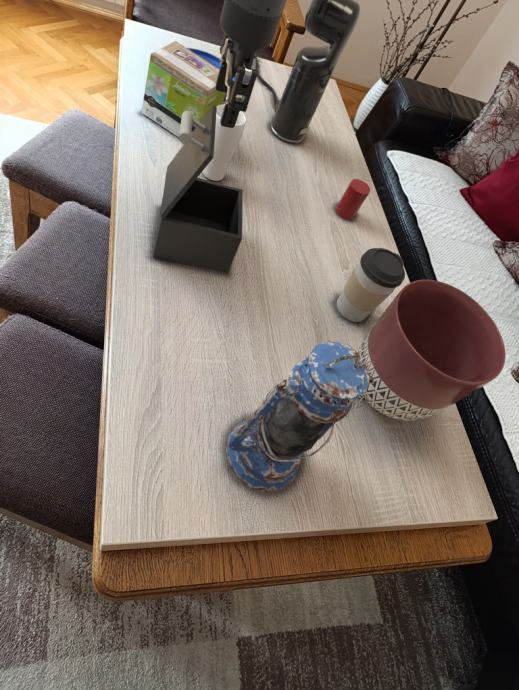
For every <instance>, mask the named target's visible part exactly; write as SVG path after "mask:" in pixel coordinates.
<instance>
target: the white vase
mask: <svg viewBox="0 0 519 690" xmlns="http://www.w3.org/2000/svg"><path fill="white" fill-rule="evenodd" d="M224 106H225V104H222V105H219V106H217V113H216V128H215V143H214V158H213V159H212V160H211V161H210V163H209V164H208V165H207V166H206V168H205V169H204V170H203V171H202V172H201V174H203V176H204V177H205V178H207V180H209V181H212V182H219V181H222V180H223V179H224V178H225V176H226V173H227V170H228V168H229V166H230V164H231V161H232V159H233V157H234V155H235V152H236V150H237V148H238V146H239V143H240V141H241V139H242V136H243V133H244V130H245V126H246V122H247V118H246V115H245V114H244V112H242V111H240V112H239V115H238V118H237V121H236V124H235V127H234V128H228V127H223V126H221V123H220V120H221V116H222V113H223V109H224Z"/></svg>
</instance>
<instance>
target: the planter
mask: <svg viewBox="0 0 519 690" xmlns="http://www.w3.org/2000/svg"><path fill="white" fill-rule="evenodd" d="M357 353H358V354H359V355H360V357H361V358H362V359H363V360H364V362H365V364H366V366H367V369H368V372H369V376H372V377H373V379H374V384H370V383H369V385H368V386H367V388H366V390H365V392H364V393H363V394H362V395H361V396H362V397H363V399H364V400H365V401H366V402H367V404H368V405H370V407H371V408H372V409H374V410H375V411H377V412H378V413H380V414H382V415H383V416H385V417H388V418H390V419H393V420H398V421H404V422H405V421H406V422H409V421H419V420H423V419H426V418H429V417H432V416H434V415H437V414H438V413H441V412H442V411H444V410H446V409H447V408H449V407H451V406H452V405H454V404H456V403H457V402H459V401H460V400H462V399H464V398H465V397H467V396H469V395H471V394H472V393H474V392H476V391H478V390H479V389H481V388H483V387H484V386H486V385H488V384H489V383H490V382H492V381H493V380H495V379H497V377H498V376H499V375H500V374H501V373H502V371H503V369H504V367H505V363H506V346H505V342H504V339H503V336H502V334H501V332H500V329H499V328H498V326H497V324H496V322H495V321H494V320H493V318H492V317H491V316H490V315H489V313H488V312H487V311H486V309H484V307H483V306H482V305H481V304H479V303H478V302H477V301H476V299H474V298H472V296H470V295H469V294H467V292H464V291H462V290H461V289H459V288H458V287H455V286H453V285H451V284H449V283H446V282H443V281H439V280H434V279H419V280H414V281H411V282H409V283H407V284H406V285H404V286H403V287H402V288H401V289H400V291H399V292H398V293H397V295H396V296H394V298H393V299H392V300H391V302H390V304H388V306H387V308H386V309H385V311H384V312H383V313H382V314H381V316H380V317H379V318H378V319H377V320H376V322H375V323H374V324H373V326H372V327H371V329H370V330H369V332H368V333H367V334H366V336H365V337H364V338H363V340H362V342H361V343H360V346H359V348H358V351H357Z"/></svg>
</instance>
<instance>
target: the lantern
mask: <svg viewBox="0 0 519 690" xmlns="http://www.w3.org/2000/svg"><path fill="white" fill-rule="evenodd" d="M369 383H370V384H374V379H373V377H372V376H369V372H368V369H367V366H366V364H365V362H364V360H363V359H362V358H361V357H360V355H359V354H358V351H357V350H354V348H352V347H350V346H349V345H347V344H345V343H342V342H339V341H335V340H332V341H330V340H329V341H323V342H321V343H319V344H316V345H315V346H314V347H313V349H311V351H310V353H309V354H308V355H307V357H306V358H305V359H303V360H301V362H298V363H297V364H295V365H294V366H293V368H292V369H291V370H290V372H289V374H288V375H287V379H283V380H282V381H281V382H279V383H277V384H274V385H273V386H271V387H270V388H269V389H268V390H267V392H266V393H265V395H264V397H263V400H262V402H261V403H260V405H258V407H257V408H256V409H255V410H254V412H253V413H252V414H251V415H250V417H249V418H247V419H245V420H244V421H241V422H239V423H238V424H236V425H235V427H234V428H233V429H232V431H231V432H230V433H229V435H228V437H227V442H226V448H225V452H226V453H225V454H226V458H227V462H228V467H229V468H230V470H231V471H232V472H233V474H234V476H235V477H236V478H237V480H238V481H240V482H241V483H243V485H245V486H247V488H249V489H252V490H255V491H259V492H263V493H271V492H277V491H281V490H282V489H284V488H286V487H288V485H290V484H291V483H293V481H294V480H295V477H296V476H297V474H298V472H299V470H300V464H301V462H302V460H305V459H308V458H310V457H313V456H314V455H316V454H317V453H319V452H320V451H321V450H323V448H325V447H326V445H328V443H329V442H330V440H331V438H332V436H333V434H334V430H335V423H338V422H339V421H341V420H343V419H344V418H346V417H347V416H348V415H349V413H350V411H351V409H352V407H353V405H354V403H355V402H356V401H358V399H360V397H361V396H363V395H362V394H363V393H364V392H365V390H366V388H367V386H368V385H369ZM329 430H331V431H330V434H329V435H328V437H327V439H326V440H325V442H323V444H322V445H321V446H320V447H319V448H318V449H316V450H315V451H313V452H311V453H309V454H307V455H305V456H303V453H306V452H308V451H310V450H312V449H313V447H314V446H315V445H316V444H317V442H318V441H319V440H321V439H322V438H324V436H325V435H326V434H327V432H329Z"/></svg>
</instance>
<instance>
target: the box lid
mask: <svg viewBox="0 0 519 690" xmlns="http://www.w3.org/2000/svg"><path fill="white" fill-rule="evenodd" d="M216 113H217V107H216V106H214V105H213V106H212V107H211V108H210V110H209V111H208V112H207V114H206V115H205V116H204V118H203V119H202V120H201V122H200V123H199V122H198V121H196V120H195V119H193V114H192V113H191V112H189V111H185V112H183V113H182V118H181V126H180V133H179V137H178V139H179V141H180V142H181V143H183V145H182V146H181V147H180V149H179V150H178V152H177V153H176V154H175V155H174V157H173V158H172V159H171V161H170V162H169V163H168V165H167V166H166V172H165V179H164V186H163V194H162V198H163V199H162V198H161V203H162V206H161V205H160V207H161V213H160V212H159V213H160V217H162V218H163V219H164V218H165V217H166V215H167V214H168V213H169V212H170V211H171V209H172V208H173V207H174V206H175V204H176V203H177V202H178V201H179V199H180V198H181V197H182V196H183V195H184V193H185V192H186V191H187V190H188V188H189V187H190V186H191V185H192V184H193V182H194V181H195V180H196V179H197V178H199V176H200V175H201V174H202V171H203V170H204V169H205V168H206V166H207V165H208V164H209V163H210V161H211V160H212V159H213V158H214V143H215V128H216ZM192 125H194V126H195V127H196V129H195V130H194V131H193V133H192V134H191V131H192Z"/></svg>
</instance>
